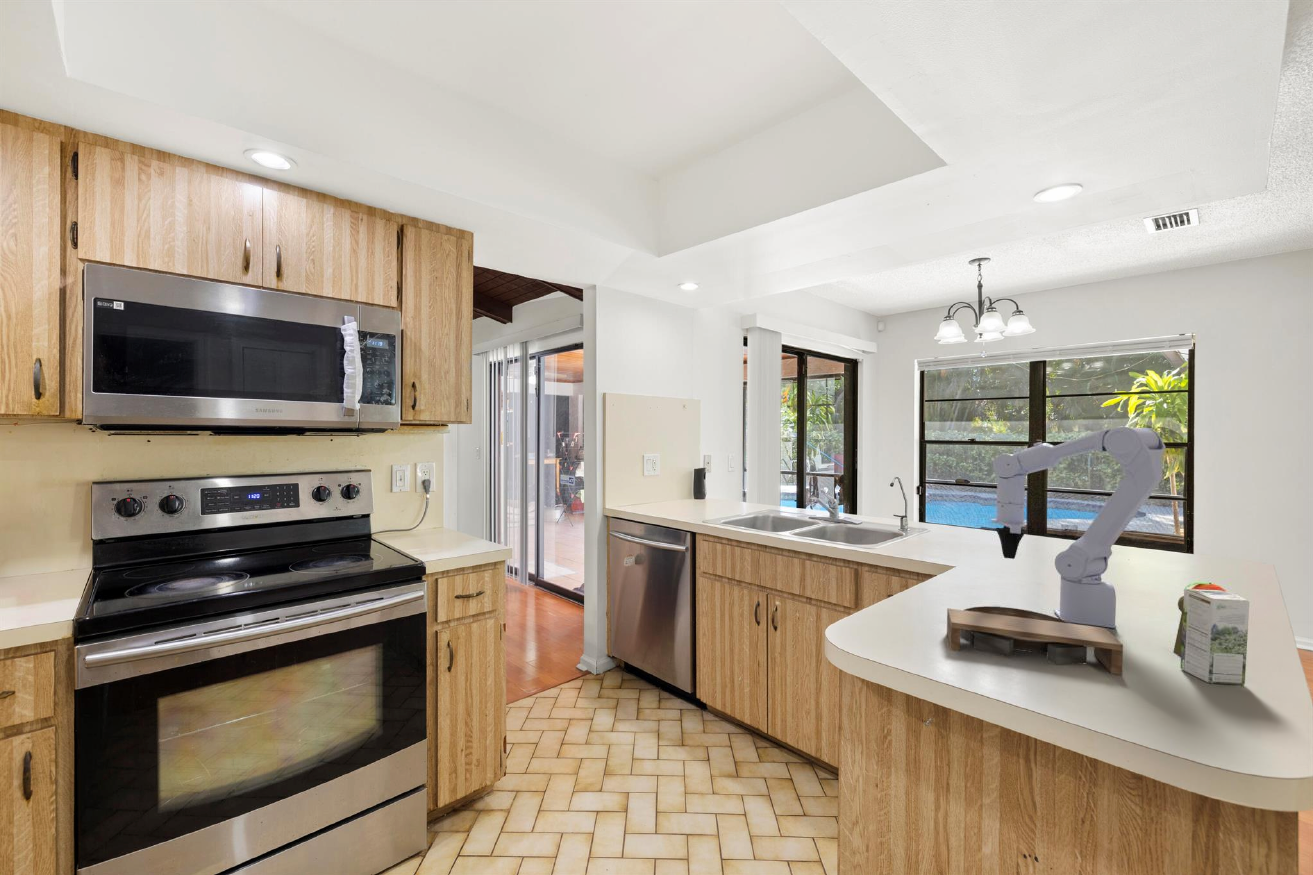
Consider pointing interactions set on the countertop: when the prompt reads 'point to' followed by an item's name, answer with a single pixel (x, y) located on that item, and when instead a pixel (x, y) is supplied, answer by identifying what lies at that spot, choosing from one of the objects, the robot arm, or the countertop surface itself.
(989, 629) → the walnut shelf
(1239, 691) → the countertop surface
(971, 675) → the countertop surface
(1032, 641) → the plant saucer
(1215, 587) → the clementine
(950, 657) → the countertop surface
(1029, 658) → the countertop surface
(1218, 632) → the syrup box
